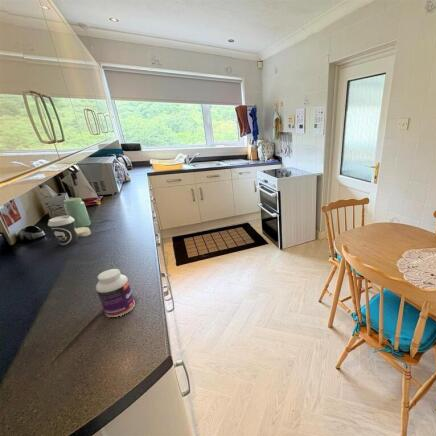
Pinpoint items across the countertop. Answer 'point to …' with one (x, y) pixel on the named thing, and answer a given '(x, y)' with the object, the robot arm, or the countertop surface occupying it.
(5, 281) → the countertop surface
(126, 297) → the pill bottle
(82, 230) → the thermos lid
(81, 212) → the thermos
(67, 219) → the coffee cup
